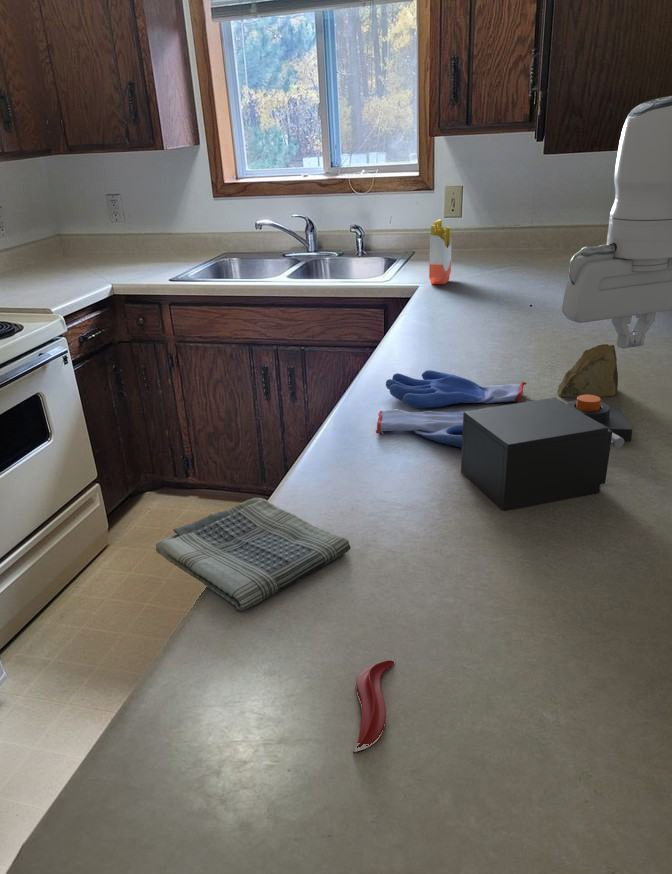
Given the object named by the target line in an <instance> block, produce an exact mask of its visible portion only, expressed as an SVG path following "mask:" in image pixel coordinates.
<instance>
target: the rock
mask: <svg viewBox="0 0 672 874" xmlns="http://www.w3.org/2000/svg"><path fill="white" fill-rule="evenodd" d="M615 347H616V346H615V344H608V343H607V344H605V343H603V344H599V345H596V346H593V347H592V348H588V349H586V350H584V351H583V353H582V355H581V356H580V357H579V359H578V360H577V361H576V362H575V364H574V365H572V367H571V368H570V369H569V370H567V371H566V372H565V374H564V377H563V378H562V380H561V381H560V383H559V385H558V387H557V388H558V389H557V390H556V393H557V394H558V396H559V397H561V398H577V397H578V396H580V395H595V396H598V397H600V398H601V397H614V396H615V395H617V394H618V387H619V371H618V364H617V352H616V348H615Z"/></svg>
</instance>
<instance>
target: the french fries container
mask: <svg viewBox="0 0 672 874" xmlns="http://www.w3.org/2000/svg"><path fill="white" fill-rule="evenodd" d="M442 221H443V220H442V219H436V221H433V224H431V225H430V234H429V269H428V270H429V271H428V276H429V277H428V278H429V282H430V284H431V285H446V284H447V283H448V282H449V280H450V277H451V272H452V244H453V243H452V241H453V240H452V239H453V238H452V236H453V235H452V231H451V226H449V225H447V226H445V227H443V226H442V225H443V224H442Z"/></svg>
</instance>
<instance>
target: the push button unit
mask: <svg viewBox="0 0 672 874" xmlns="http://www.w3.org/2000/svg"><path fill="white" fill-rule="evenodd" d="M566 404H567V405H569V406H571V407H573V408H574V409H576V410H578V411H580V412H581V413H583V414H585V415H587V416H588V417H590V418H592V419H594V420H595V421H597V422H599V423H601V424H602V425H604V426H606V427H608V429H610V430H611V431H613V433H614V434H616V435H618V436H620V437H621V438H623V439H624V443H631V442H632V436H633V431H634V429H633V427H632V425H631V424H630V422H629V421H628V418H627V417H626V415H625V414H624V412H623V411H622V408H621V407H620V406H619V405H618V406H613V405H609V404H608V403H606V402H603V401H601V403H600V410H598V411H583V410H579V409H577V408H576V404H577V399H575V400H570V401H569V402H568V403H566Z"/></svg>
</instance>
